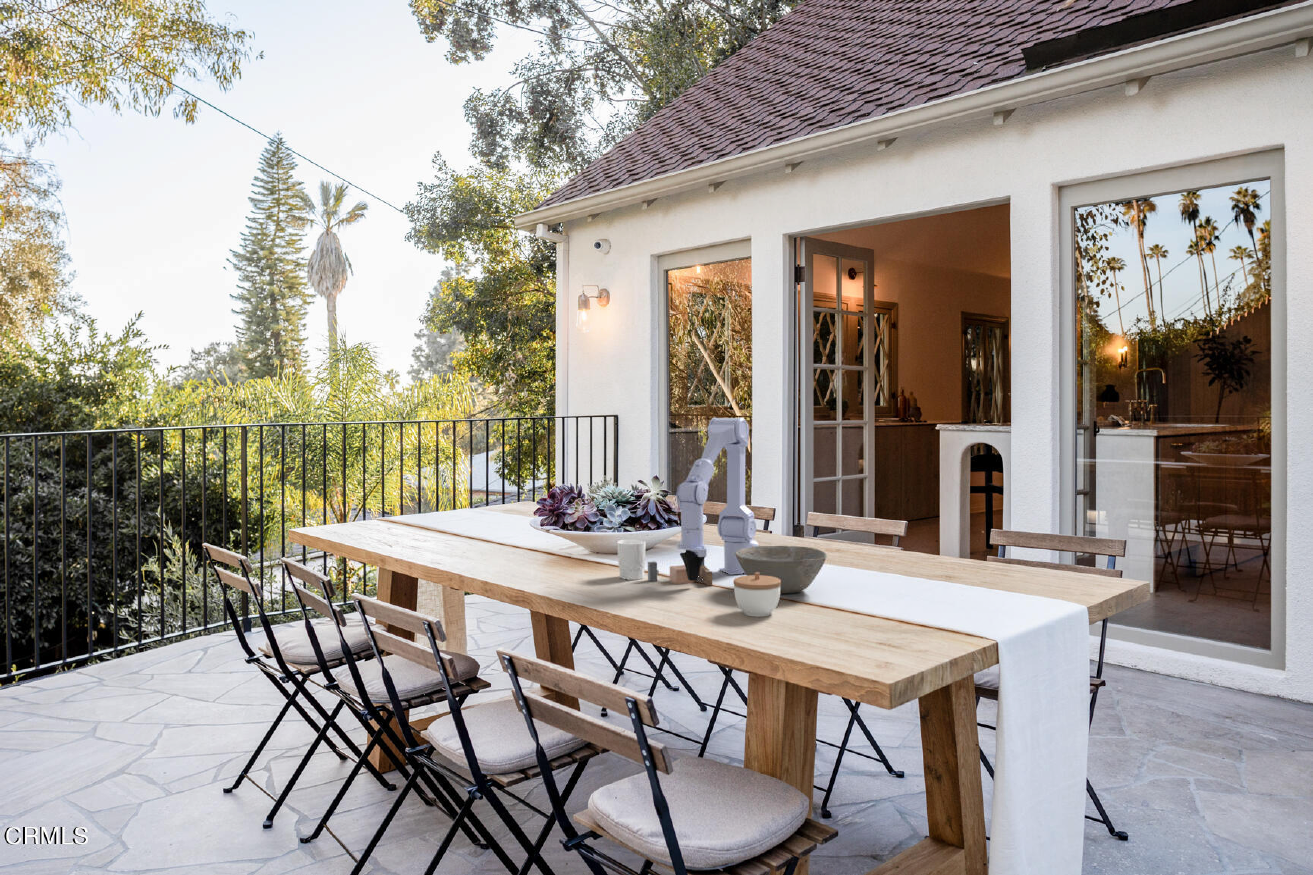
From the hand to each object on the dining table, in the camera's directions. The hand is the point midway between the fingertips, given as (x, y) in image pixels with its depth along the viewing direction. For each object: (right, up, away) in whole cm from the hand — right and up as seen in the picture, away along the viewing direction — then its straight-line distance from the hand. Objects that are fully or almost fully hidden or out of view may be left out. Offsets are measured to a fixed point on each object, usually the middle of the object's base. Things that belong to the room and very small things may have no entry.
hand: (692, 579), depth 222 cm
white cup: (-16, -2, +14) cm, 22 cm away
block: (-3, -2, +8) cm, 9 cm away
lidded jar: (+14, -3, -27) cm, 31 cm away
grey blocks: (-4, -2, +12) cm, 13 cm away
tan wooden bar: (+4, -2, +7) cm, 8 cm away
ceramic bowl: (+22, -2, -6) cm, 23 cm away
